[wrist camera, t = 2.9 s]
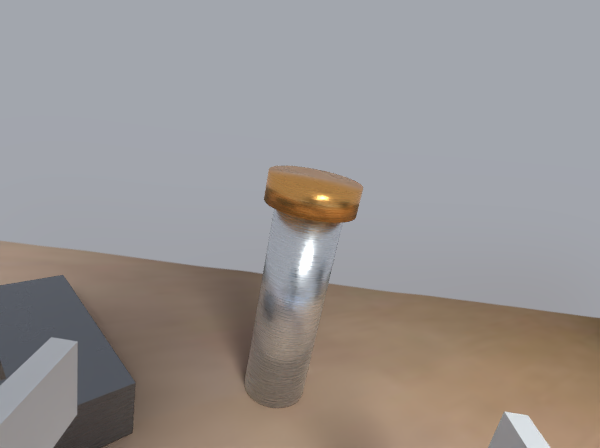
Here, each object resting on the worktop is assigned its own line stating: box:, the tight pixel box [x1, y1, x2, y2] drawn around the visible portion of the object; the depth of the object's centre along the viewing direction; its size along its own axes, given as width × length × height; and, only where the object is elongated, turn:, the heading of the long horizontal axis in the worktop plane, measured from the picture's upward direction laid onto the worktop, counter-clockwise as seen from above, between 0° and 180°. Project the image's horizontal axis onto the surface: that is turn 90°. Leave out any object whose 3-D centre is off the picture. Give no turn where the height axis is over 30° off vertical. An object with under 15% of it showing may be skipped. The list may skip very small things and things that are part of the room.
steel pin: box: [244, 166, 363, 408], centre depth 21 cm, size 5×5×13 cm
